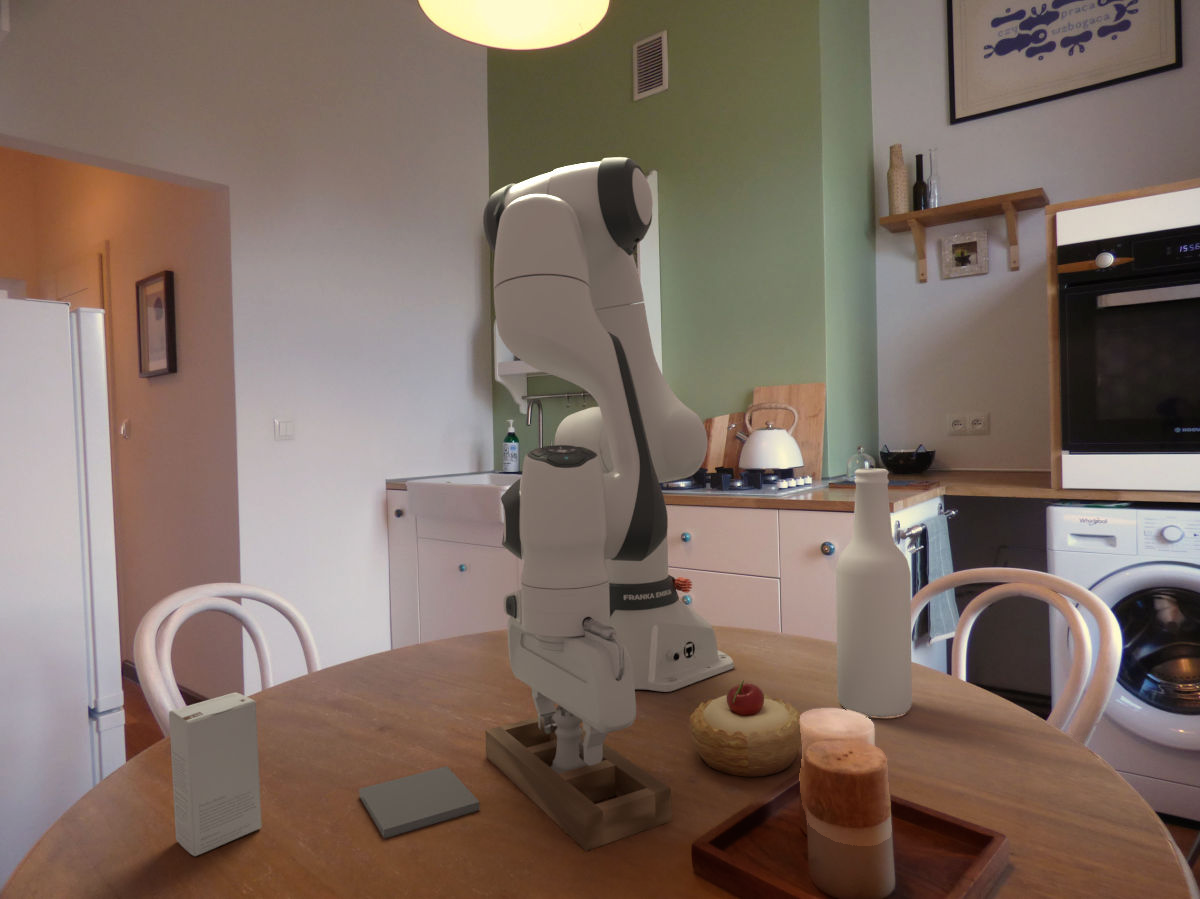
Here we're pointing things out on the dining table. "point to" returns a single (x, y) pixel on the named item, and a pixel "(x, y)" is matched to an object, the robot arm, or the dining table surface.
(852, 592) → the alcohol
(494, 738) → the three-compartment wooden tray
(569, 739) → the rook chess piece
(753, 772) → the pastry
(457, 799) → the coaster
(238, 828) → the skincare box
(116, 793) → the dining table surface
